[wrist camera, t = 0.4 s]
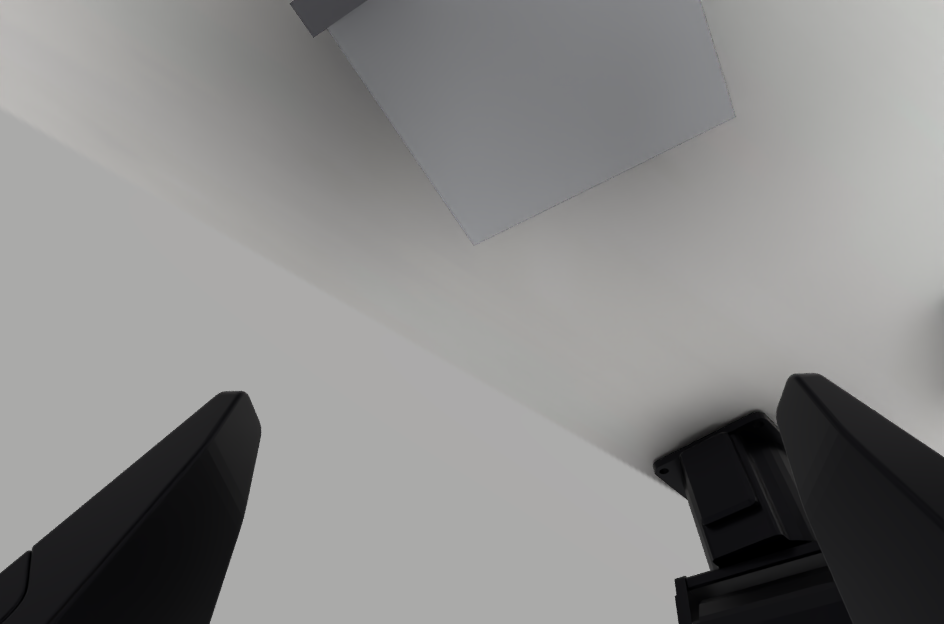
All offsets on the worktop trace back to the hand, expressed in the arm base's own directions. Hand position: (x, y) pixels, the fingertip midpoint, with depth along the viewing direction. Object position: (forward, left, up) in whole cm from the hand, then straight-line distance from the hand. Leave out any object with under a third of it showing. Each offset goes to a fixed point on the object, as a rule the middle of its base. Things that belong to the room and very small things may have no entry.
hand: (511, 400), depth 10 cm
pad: (+1, -2, -13) cm, 14 cm away
